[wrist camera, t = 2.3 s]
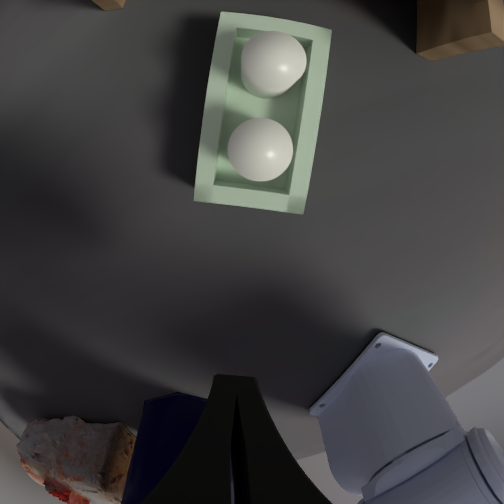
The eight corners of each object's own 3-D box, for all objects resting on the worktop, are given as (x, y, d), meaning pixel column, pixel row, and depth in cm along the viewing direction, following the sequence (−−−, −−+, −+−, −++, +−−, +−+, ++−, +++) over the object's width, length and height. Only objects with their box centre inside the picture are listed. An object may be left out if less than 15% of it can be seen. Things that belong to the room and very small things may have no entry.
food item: (69, 447, 26) (48, 504, 17) (30, 407, 23) (-1, 468, 14) (154, 452, 25) (141, 528, 16) (114, 409, 22) (86, 497, 13)
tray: (294, 202, 16) (313, 227, 12) (200, 190, 15) (185, 212, 11) (318, 43, 13) (345, 15, 8) (223, 29, 12) (217, -7, 8)
